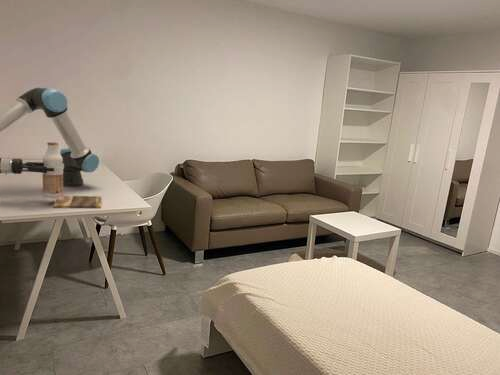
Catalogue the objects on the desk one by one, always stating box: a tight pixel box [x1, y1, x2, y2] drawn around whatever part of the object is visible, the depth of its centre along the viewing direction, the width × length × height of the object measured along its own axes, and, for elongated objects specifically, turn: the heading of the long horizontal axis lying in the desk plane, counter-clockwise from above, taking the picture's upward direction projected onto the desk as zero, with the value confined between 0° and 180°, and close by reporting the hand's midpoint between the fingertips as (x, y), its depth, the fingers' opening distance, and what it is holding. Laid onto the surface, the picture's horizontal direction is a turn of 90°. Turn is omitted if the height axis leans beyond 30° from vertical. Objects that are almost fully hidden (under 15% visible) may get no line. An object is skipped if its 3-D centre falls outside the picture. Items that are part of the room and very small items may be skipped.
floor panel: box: [53, 195, 102, 209], centre depth 202 cm, size 22×20×1 cm
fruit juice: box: [42, 141, 64, 199], centre depth 193 cm, size 9×9×28 cm
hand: (62, 168), depth 195 cm, fingers closed on fruit juice, 9 cm apart
